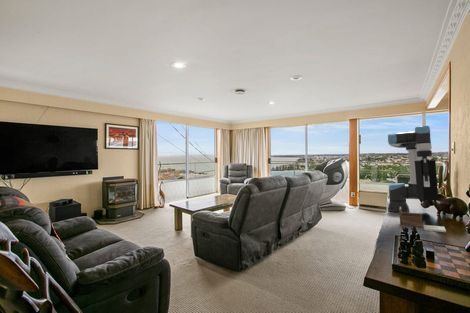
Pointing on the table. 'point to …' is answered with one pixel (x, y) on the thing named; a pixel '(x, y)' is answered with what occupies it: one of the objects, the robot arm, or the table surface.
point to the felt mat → (434, 228)
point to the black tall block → (431, 191)
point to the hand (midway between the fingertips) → (426, 186)
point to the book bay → (410, 219)
